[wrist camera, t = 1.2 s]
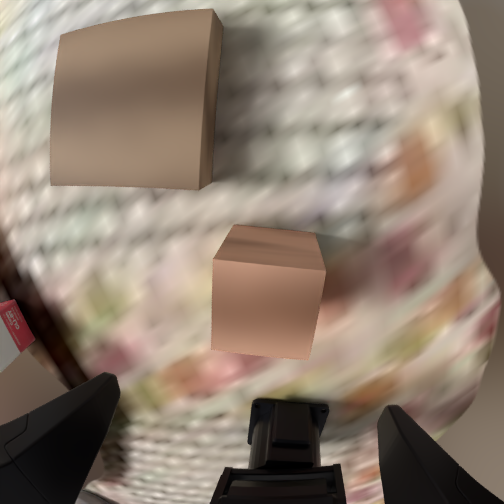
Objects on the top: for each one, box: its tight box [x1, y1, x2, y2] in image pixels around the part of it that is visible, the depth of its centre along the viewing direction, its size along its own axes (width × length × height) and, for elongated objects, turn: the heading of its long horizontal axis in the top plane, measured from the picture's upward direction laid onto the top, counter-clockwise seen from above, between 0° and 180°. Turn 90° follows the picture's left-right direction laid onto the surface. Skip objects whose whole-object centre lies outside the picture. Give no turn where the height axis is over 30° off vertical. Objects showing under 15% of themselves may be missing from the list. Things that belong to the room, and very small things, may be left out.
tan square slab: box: [50, 9, 223, 190], centre depth 16 cm, size 10×10×3 cm
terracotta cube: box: [211, 225, 326, 360], centre depth 18 cm, size 5×5×6 cm
